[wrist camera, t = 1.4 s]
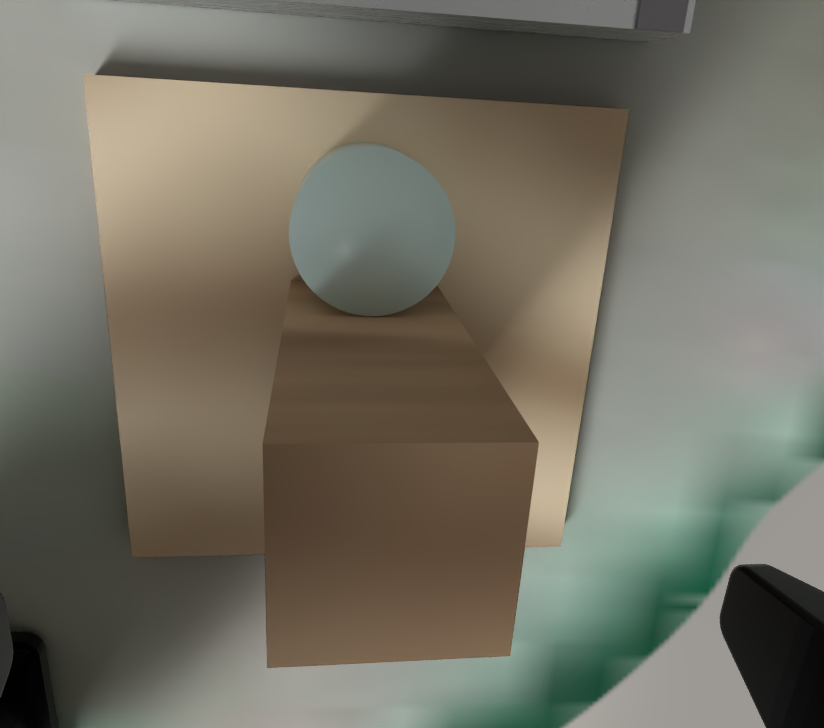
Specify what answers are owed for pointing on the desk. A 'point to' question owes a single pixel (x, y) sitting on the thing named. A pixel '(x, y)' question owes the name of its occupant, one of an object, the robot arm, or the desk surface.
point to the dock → (494, 14)
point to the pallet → (239, 251)
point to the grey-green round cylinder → (371, 230)
